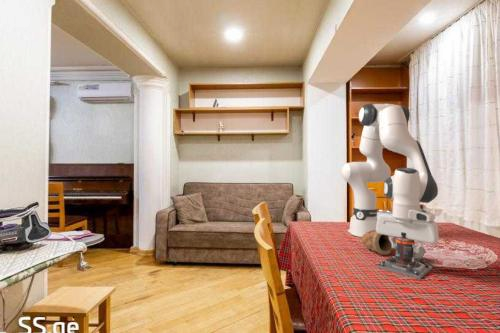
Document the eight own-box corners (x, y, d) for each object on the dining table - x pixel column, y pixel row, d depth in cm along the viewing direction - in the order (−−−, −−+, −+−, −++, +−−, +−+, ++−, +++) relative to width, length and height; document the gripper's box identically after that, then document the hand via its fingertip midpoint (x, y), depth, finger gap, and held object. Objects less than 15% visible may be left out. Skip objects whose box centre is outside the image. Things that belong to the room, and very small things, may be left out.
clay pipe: (356, 259, 126) (390, 257, 115) (349, 235, 128) (381, 230, 117) (374, 250, 139) (407, 247, 128) (368, 227, 141) (399, 223, 130)
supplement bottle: (418, 265, 103) (419, 233, 103) (403, 266, 102) (404, 233, 102) (405, 259, 109) (406, 229, 109) (391, 260, 108) (392, 230, 108)
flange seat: (400, 254, 122) (400, 242, 122) (439, 262, 112) (439, 249, 112) (377, 267, 106) (377, 254, 106) (420, 279, 96) (420, 264, 96)
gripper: (373, 209, 111) (372, 245, 111) (435, 217, 96) (434, 259, 96) (380, 208, 115) (379, 242, 115) (440, 215, 100) (439, 255, 101)
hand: (405, 250), depth 106 cm, fingers closed on supplement bottle, 6 cm apart
